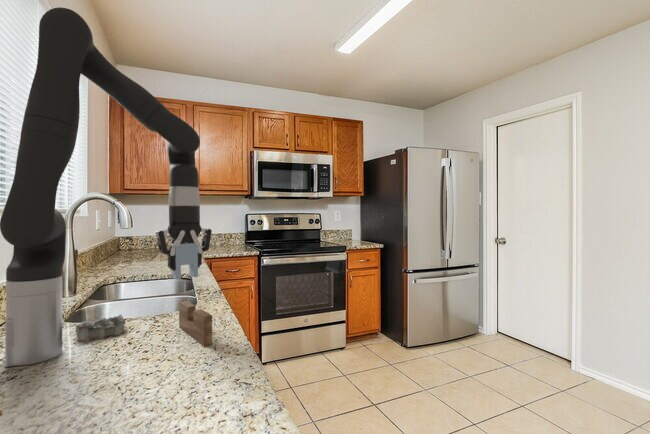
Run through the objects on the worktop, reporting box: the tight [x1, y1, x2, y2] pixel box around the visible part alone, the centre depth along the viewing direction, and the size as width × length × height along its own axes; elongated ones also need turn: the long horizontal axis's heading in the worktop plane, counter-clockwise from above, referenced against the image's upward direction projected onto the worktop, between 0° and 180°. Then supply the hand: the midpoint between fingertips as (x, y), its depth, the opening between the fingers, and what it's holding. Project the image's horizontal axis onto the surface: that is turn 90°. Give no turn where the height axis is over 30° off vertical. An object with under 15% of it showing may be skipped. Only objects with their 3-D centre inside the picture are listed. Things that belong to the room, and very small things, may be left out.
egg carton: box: [75, 314, 126, 342], centre depth 88 cm, size 11×8×4 cm
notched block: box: [171, 242, 199, 281], centre depth 89 cm, size 6×3×9 cm, turn 132°
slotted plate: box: [178, 300, 213, 348], centre depth 86 cm, size 2×18×7 cm, turn 41°
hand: (185, 268), depth 89 cm, fingers closed on notched block, 5 cm apart
